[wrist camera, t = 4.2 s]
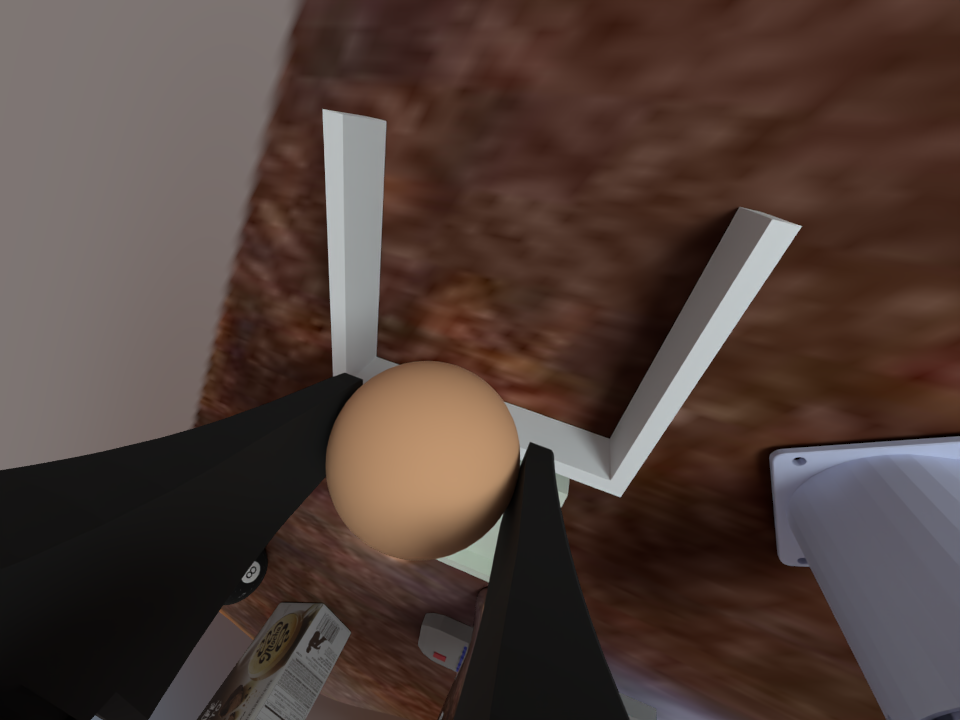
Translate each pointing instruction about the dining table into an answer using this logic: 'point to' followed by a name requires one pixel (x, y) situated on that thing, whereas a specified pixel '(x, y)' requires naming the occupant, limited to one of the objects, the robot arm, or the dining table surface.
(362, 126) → the white bent bar
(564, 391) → the dining table surface
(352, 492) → the ball
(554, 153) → the dining table surface
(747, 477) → the dining table surface
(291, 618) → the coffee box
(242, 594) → the billiard ball
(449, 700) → the beer glass
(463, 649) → the remote control
